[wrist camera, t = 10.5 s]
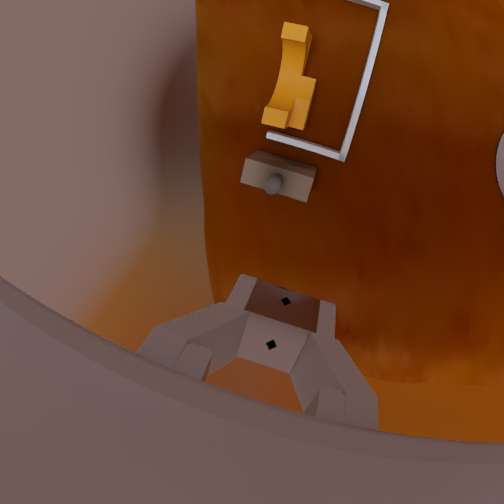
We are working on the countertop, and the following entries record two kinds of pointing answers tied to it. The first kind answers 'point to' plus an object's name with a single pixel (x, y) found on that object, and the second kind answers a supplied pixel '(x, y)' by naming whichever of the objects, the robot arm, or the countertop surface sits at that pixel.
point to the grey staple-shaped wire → (375, 3)
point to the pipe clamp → (292, 81)
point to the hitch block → (278, 175)
